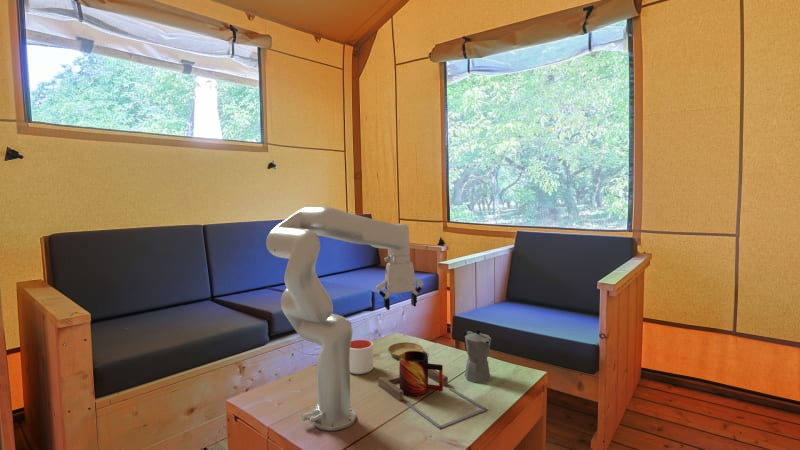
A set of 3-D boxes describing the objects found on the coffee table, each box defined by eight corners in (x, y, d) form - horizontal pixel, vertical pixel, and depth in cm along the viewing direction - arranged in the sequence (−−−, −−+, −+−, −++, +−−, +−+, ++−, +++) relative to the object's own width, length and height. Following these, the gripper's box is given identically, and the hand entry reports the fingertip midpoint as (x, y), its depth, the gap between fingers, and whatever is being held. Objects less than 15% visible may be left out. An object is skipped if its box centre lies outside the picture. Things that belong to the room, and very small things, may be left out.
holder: (399, 401, 137) (399, 392, 137) (378, 385, 148) (378, 377, 148) (447, 385, 148) (447, 377, 148) (424, 371, 159) (424, 364, 159)
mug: (443, 394, 142) (443, 359, 141) (402, 398, 139) (402, 363, 138) (435, 382, 151) (435, 349, 150) (397, 385, 149) (397, 352, 148)
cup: (378, 368, 163) (378, 342, 162) (362, 377, 155) (362, 351, 154) (357, 362, 169) (357, 337, 168) (341, 371, 160) (340, 345, 159)
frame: (439, 429, 121) (439, 428, 121) (405, 404, 135) (405, 403, 135) (487, 410, 131) (487, 409, 131) (451, 388, 146) (451, 387, 146)
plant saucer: (430, 356, 175) (430, 349, 175) (402, 364, 167) (402, 358, 166) (408, 345, 187) (408, 339, 187) (380, 353, 178) (380, 347, 178)
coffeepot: (499, 382, 150) (500, 332, 149) (477, 387, 146) (478, 336, 145) (473, 366, 164) (473, 320, 163) (453, 371, 160) (453, 324, 159)
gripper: (377, 263, 142) (379, 313, 144) (426, 258, 147) (427, 307, 149) (372, 259, 149) (374, 307, 151) (418, 255, 154) (419, 301, 156)
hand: (400, 307), depth 150 cm, fingers open, 9 cm apart
